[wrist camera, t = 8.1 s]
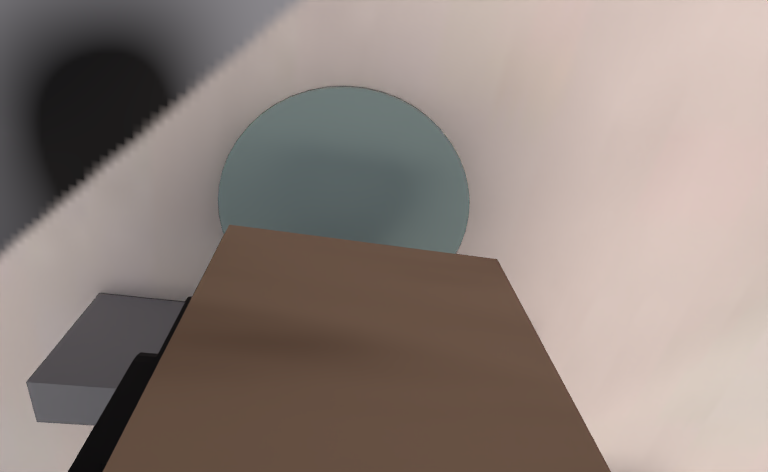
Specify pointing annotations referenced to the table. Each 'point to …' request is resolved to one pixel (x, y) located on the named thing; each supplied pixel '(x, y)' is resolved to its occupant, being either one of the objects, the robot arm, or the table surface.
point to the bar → (98, 356)
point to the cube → (353, 368)
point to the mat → (347, 172)
